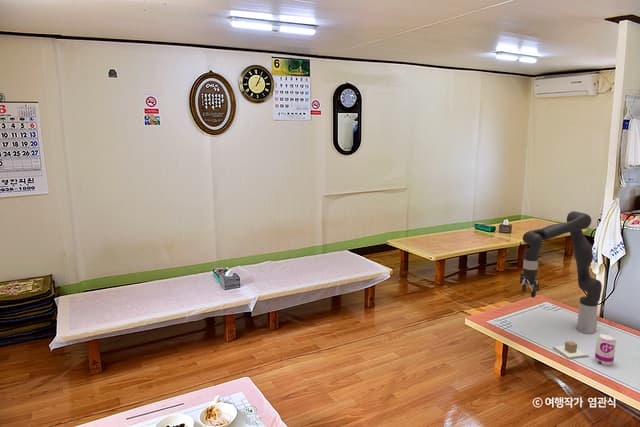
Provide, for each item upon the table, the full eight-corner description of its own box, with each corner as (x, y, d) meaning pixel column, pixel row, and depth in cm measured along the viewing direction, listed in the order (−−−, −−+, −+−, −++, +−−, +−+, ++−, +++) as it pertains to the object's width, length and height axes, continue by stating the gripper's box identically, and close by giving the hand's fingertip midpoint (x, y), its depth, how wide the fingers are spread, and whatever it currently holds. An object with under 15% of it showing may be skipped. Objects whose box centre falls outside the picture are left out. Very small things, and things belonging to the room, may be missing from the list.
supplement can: (613, 369, 227) (616, 342, 224) (594, 364, 231) (597, 338, 228) (612, 362, 234) (616, 335, 231) (594, 357, 238) (597, 331, 235)
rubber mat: (572, 347, 250) (572, 345, 249) (589, 358, 237) (589, 357, 237) (551, 349, 247) (551, 347, 247) (567, 361, 235) (568, 359, 235)
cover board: (571, 346, 248) (572, 337, 247) (586, 356, 238) (587, 347, 237) (554, 348, 246) (555, 339, 245) (568, 358, 236) (569, 349, 235)
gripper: (544, 270, 244) (542, 298, 248) (528, 263, 258) (526, 289, 261) (532, 271, 243) (530, 299, 247) (516, 263, 257) (515, 290, 260)
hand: (528, 294), depth 254 cm, fingers open, 8 cm apart
